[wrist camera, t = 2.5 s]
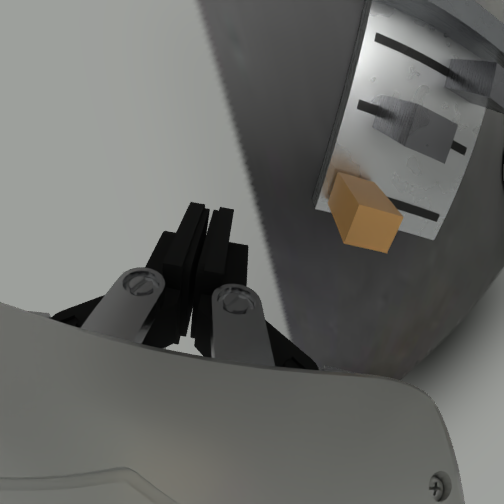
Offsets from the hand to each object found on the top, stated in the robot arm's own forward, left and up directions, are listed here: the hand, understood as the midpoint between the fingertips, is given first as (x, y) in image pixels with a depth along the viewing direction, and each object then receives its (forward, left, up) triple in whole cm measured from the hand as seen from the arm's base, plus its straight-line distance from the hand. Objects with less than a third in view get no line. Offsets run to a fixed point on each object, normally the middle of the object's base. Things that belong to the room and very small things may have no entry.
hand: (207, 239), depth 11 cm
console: (-12, -7, -11) cm, 18 cm away
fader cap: (-8, 0, -9) cm, 12 cm away
